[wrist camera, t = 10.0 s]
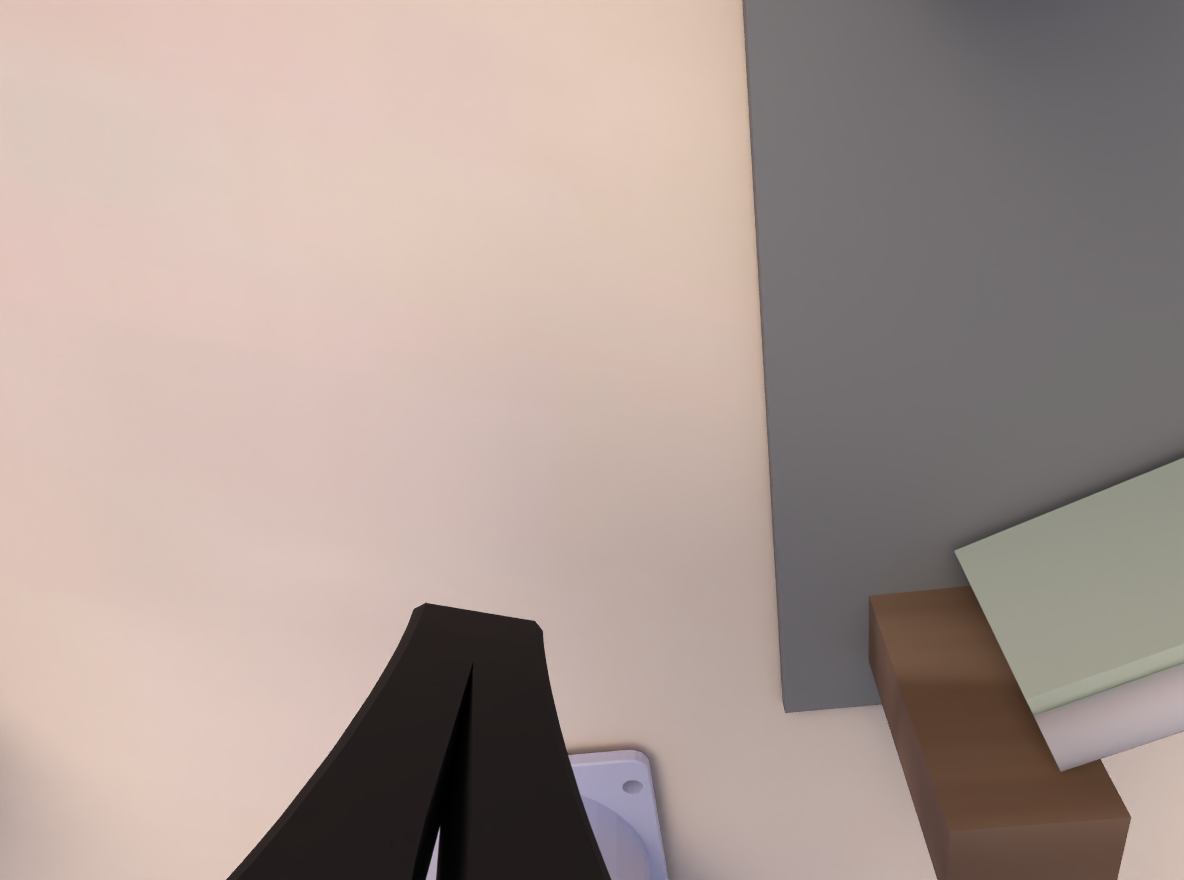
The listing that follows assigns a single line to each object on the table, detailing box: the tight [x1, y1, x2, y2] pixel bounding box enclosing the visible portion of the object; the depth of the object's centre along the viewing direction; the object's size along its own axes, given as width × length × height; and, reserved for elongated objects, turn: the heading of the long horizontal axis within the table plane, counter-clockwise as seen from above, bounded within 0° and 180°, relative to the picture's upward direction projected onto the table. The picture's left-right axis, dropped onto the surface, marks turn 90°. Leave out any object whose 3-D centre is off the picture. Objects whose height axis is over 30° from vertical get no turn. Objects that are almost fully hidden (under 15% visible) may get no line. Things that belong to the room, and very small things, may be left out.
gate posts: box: [869, 586, 1131, 880], centre depth 16 cm, size 18×3×6 cm, turn 8°
